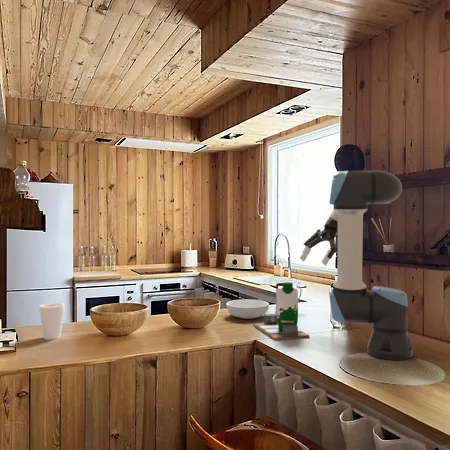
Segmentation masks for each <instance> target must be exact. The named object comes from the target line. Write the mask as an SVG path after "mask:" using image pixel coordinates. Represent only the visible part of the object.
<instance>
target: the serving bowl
mask: <svg viewBox="0 0 450 450" xmlns="http://www.w3.org/2000/svg"><path fill="white" fill-rule="evenodd" d="M225 306H226V309H227V313H229V314H230V315H232V316H233V317H235V318H239V319H242V320H243V319H244V320H254V319H257V318H260V317H264V314H267V312H268V310H269V307H270V303H269V302H268V301H265V300H261V299H260V300H259V299H250V298H249V299H247V298H246V299H235V300H230V301H227V302H226V305H225Z"/></svg>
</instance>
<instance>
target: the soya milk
mask: <svg viewBox="0 0 450 450" xmlns="http://www.w3.org/2000/svg"><path fill="white" fill-rule="evenodd" d="M282 283H283V286H278V290H277V314H276V315H277V321H278V327H279V332H283V325H287V324H295V325H297V326H298V321H299V301H298V298H299V291H298V288H297V287H296V286H297V285H294V286H293V284H294V283H293V282H282Z"/></svg>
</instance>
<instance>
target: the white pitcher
mask: <svg viewBox="0 0 450 450" xmlns="http://www.w3.org/2000/svg"><path fill="white" fill-rule="evenodd" d="M283 283H284V282H278V283H276V284H275V285H276V286H275V287H276V289H275V313H274V314H276V315H277V290H278V286H283ZM295 286H296V287H298V288H299V289H300V293H299V295H298V302H299V300H300V298H301V296H302V287H301V286H299V285H295Z"/></svg>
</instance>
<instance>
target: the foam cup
mask: <svg viewBox="0 0 450 450" xmlns="http://www.w3.org/2000/svg"><path fill="white" fill-rule="evenodd" d="M65 306H66V305H65V303H62V302H60V303H59V302H54V303H52V302H51V303H43V304H40V305H39V306H38V307H39V311H38V312H39V314H40V323H41V329H42V330H41V331H42V335H43V340H47V341H49V340H51V341H52V340H58V339H60V338H61V337H62V328H63V322H64V321H63V320H64V316H65V315H64V314H65V311H66V310H65V309H66V307H65Z"/></svg>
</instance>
